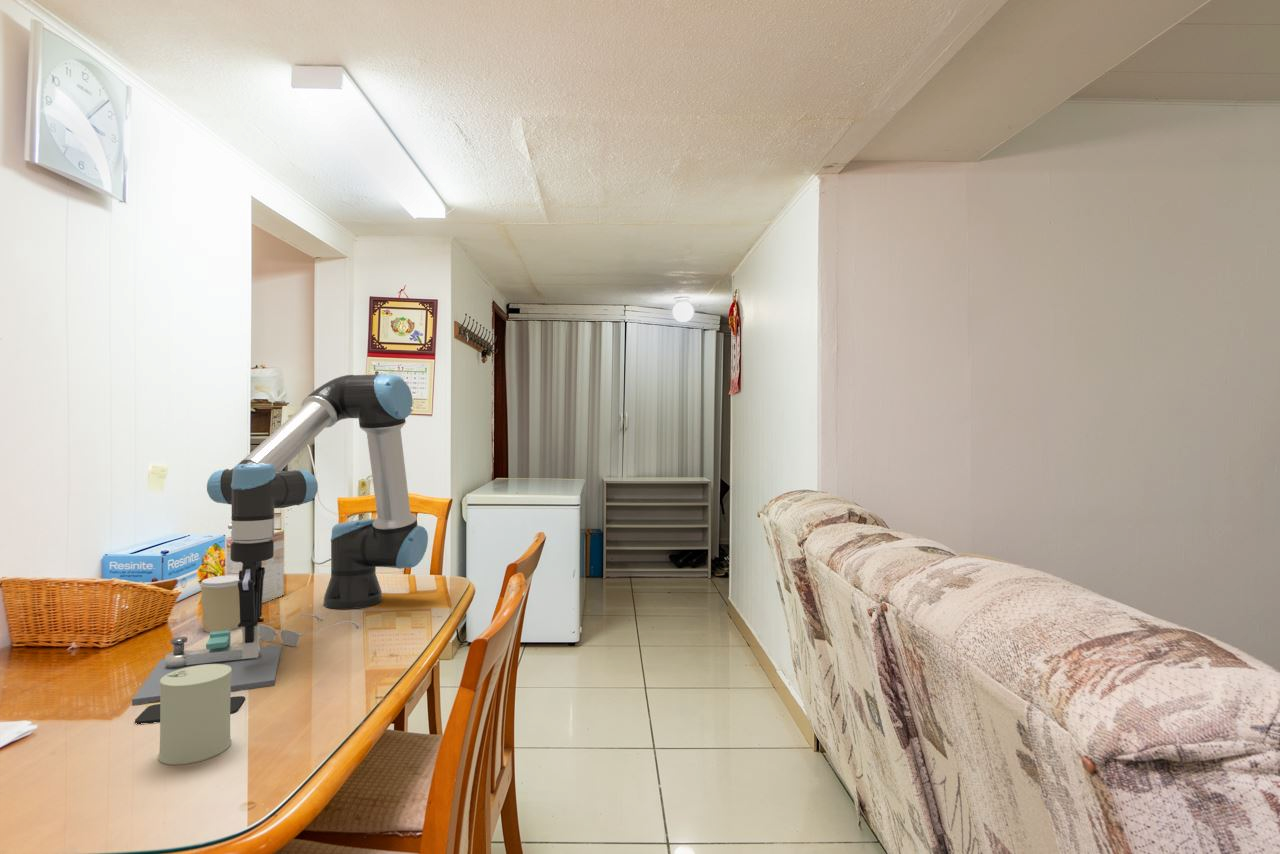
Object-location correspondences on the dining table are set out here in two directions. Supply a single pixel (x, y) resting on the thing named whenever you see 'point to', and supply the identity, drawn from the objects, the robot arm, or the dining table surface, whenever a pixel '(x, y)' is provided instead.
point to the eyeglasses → (288, 632)
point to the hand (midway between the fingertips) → (250, 657)
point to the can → (194, 713)
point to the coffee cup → (220, 603)
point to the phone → (153, 711)
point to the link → (200, 654)
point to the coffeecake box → (273, 567)
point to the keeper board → (243, 670)
